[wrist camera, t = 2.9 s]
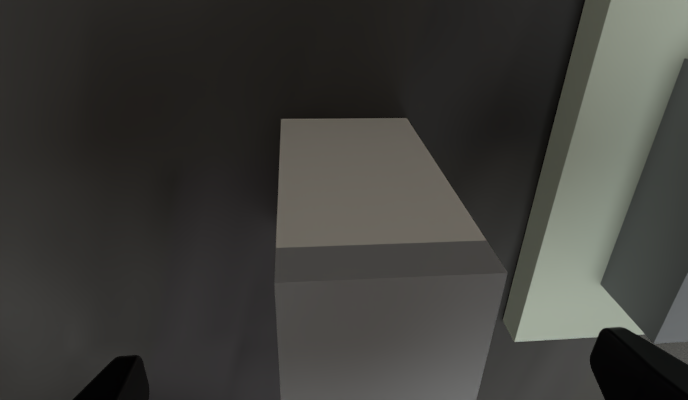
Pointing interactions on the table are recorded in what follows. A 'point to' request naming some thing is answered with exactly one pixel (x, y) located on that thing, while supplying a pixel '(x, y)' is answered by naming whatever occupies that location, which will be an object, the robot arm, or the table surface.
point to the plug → (377, 268)
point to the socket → (612, 185)
